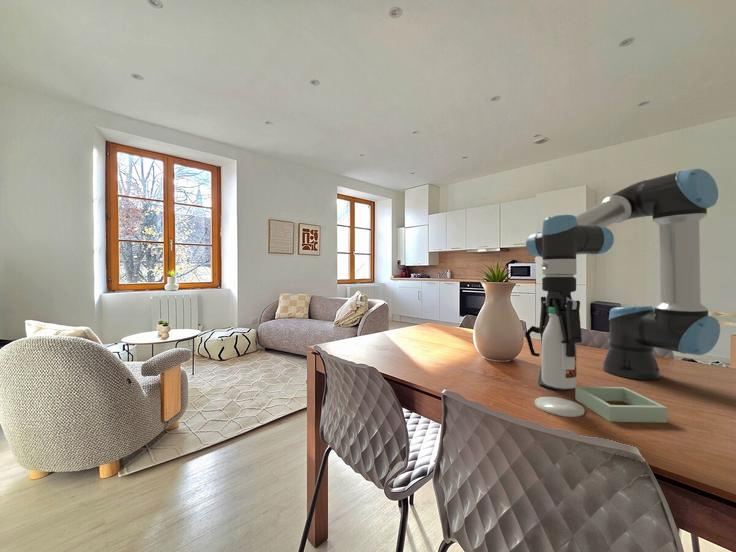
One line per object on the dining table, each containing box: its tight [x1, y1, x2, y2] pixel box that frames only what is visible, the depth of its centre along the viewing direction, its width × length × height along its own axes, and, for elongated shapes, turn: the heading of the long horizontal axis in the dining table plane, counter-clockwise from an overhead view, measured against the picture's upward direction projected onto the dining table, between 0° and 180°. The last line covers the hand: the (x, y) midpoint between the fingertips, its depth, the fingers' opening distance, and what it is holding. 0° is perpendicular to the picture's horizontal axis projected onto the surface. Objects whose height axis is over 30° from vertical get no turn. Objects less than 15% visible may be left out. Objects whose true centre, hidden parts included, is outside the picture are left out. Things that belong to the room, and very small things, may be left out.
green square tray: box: [574, 386, 668, 423], centre depth 80 cm, size 13×13×4 cm
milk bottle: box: [541, 307, 577, 390], centre depth 81 cm, size 8×8×20 cm
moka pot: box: [524, 325, 583, 391], centre depth 97 cm, size 10×15×20 cm, turn 78°
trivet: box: [534, 396, 585, 418], centre depth 81 cm, size 11×11×1 cm
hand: (558, 364), depth 81 cm, fingers closed on milk bottle, 8 cm apart
